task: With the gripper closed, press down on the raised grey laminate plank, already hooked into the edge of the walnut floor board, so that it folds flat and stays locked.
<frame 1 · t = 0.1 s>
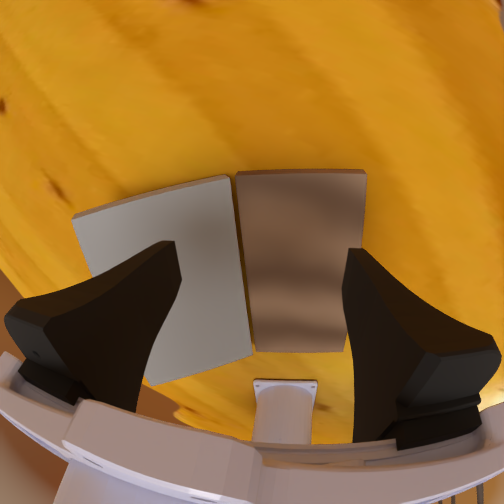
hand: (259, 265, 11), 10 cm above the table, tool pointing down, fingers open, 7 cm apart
grey plank: (177, 301, 22), point 4 cm above the table, hinge at 30.0°
walnut board: (302, 274, 23), on the table
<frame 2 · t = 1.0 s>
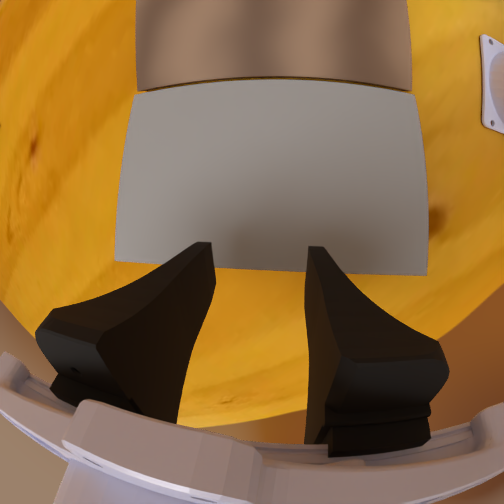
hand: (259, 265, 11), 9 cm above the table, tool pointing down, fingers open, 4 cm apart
grey plank: (269, 167, 15), point 4 cm above the table, hinge at 30.0°
walnut board: (270, 17, 13), on the table
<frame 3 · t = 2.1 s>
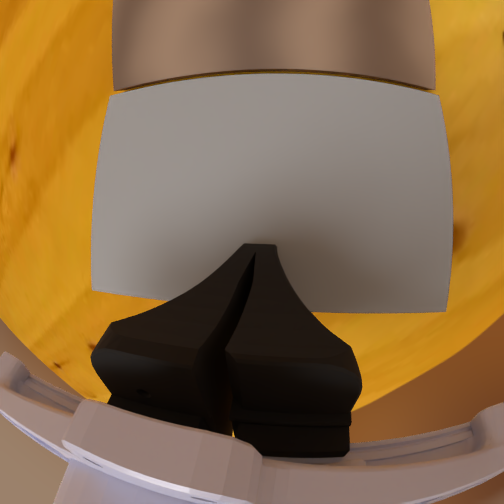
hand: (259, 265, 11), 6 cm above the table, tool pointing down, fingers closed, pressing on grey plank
grey plank: (266, 182, 12), point 4 cm above the table, hinge at 28.5°, touching gripper
walnut board: (268, 1, 10), on the table
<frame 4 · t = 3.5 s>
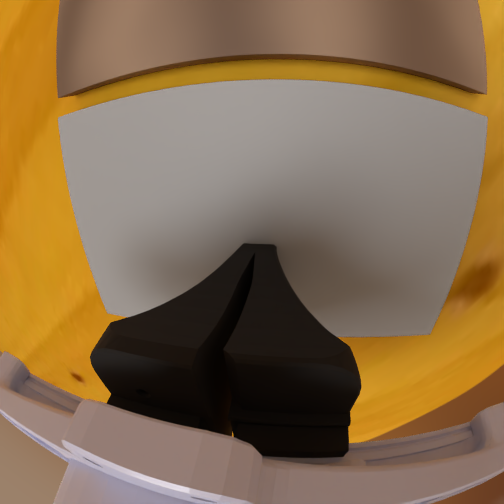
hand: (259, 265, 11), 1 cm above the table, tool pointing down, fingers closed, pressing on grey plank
grey plank: (263, 223, 11), point 1 cm above the table, hinge at 1.7°, touching gripper
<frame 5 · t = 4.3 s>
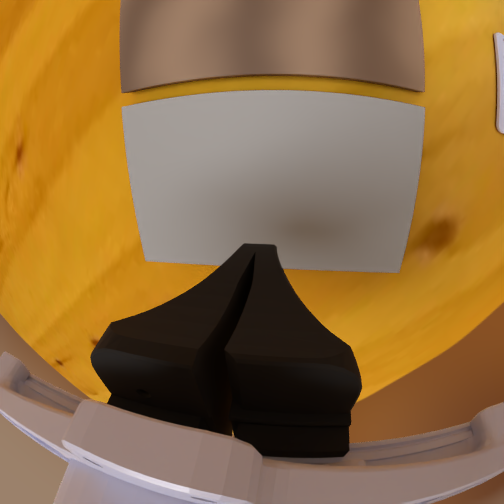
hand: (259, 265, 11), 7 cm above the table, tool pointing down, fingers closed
grey plank: (270, 183, 16), point 1 cm above the table, hinge at 1.7°
walnut board: (267, 9, 11), on the table
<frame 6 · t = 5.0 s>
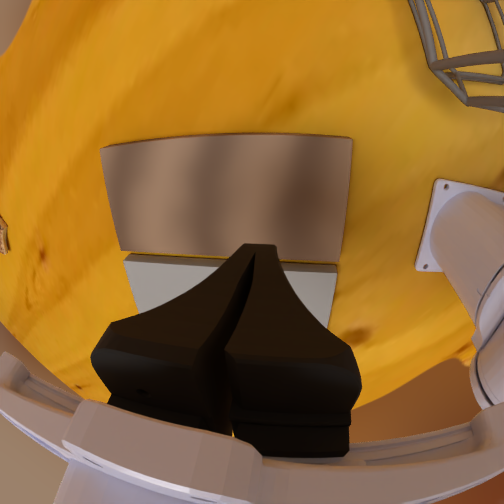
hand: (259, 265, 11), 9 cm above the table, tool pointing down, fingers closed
geometric lantern: (467, 28, 10), on the table
grey plank: (227, 315, 25), point 1 cm above the table, hinge at 1.7°
walnut board: (219, 194, 20), on the table
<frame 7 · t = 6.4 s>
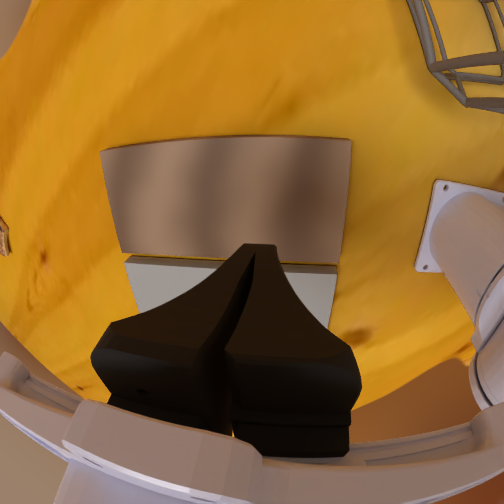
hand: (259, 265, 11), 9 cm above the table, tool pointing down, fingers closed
geometric lantern: (466, 28, 10), on the table
grey plank: (227, 316, 25), point 1 cm above the table, hinge at 1.7°
walnut board: (219, 196, 20), on the table
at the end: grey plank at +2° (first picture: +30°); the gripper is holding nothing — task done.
